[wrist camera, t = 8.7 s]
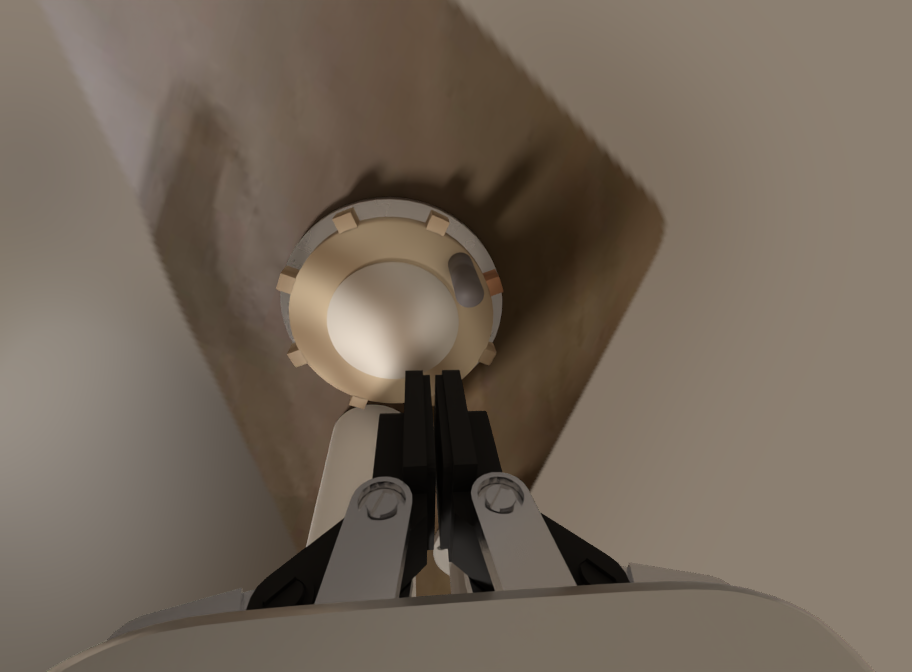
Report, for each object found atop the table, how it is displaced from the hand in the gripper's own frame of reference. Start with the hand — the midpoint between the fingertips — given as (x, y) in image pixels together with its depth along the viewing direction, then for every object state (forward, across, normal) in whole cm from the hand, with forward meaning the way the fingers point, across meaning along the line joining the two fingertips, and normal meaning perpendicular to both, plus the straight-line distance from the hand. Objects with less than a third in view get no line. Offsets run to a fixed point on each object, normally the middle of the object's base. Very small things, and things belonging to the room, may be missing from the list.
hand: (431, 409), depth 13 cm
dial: (+17, +2, +5) cm, 18 cm away
